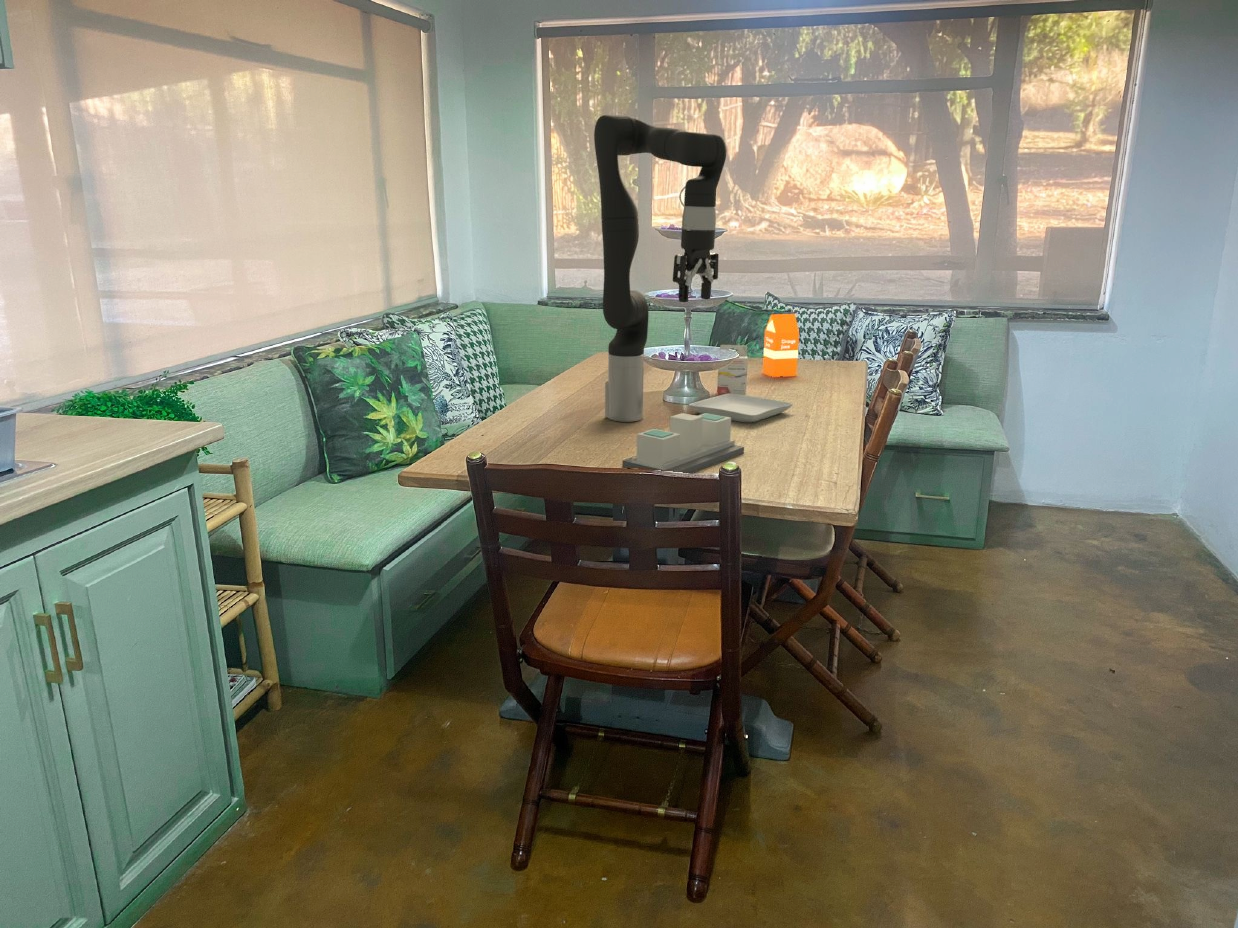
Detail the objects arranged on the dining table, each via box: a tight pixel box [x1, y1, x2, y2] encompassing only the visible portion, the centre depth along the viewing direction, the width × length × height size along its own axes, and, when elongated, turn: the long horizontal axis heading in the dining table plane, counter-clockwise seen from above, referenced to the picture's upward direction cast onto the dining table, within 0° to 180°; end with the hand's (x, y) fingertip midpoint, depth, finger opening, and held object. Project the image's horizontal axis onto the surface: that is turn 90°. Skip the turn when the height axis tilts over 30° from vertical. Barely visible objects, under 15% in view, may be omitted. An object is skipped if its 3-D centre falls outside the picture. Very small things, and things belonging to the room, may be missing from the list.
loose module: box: [669, 413, 703, 456], centre depth 199 cm, size 6×4×8 cm
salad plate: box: [688, 393, 793, 423], centre depth 244 cm, size 21×21×3 cm
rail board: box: [621, 413, 745, 474], centre depth 200 cm, size 14×27×8 cm, turn 140°
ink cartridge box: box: [716, 344, 749, 396], centre depth 266 cm, size 9×5×15 cm, turn 84°
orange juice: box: [762, 313, 800, 378], centre depth 298 cm, size 8×9×20 cm
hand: (694, 300), depth 206 cm, fingers open, 8 cm apart
